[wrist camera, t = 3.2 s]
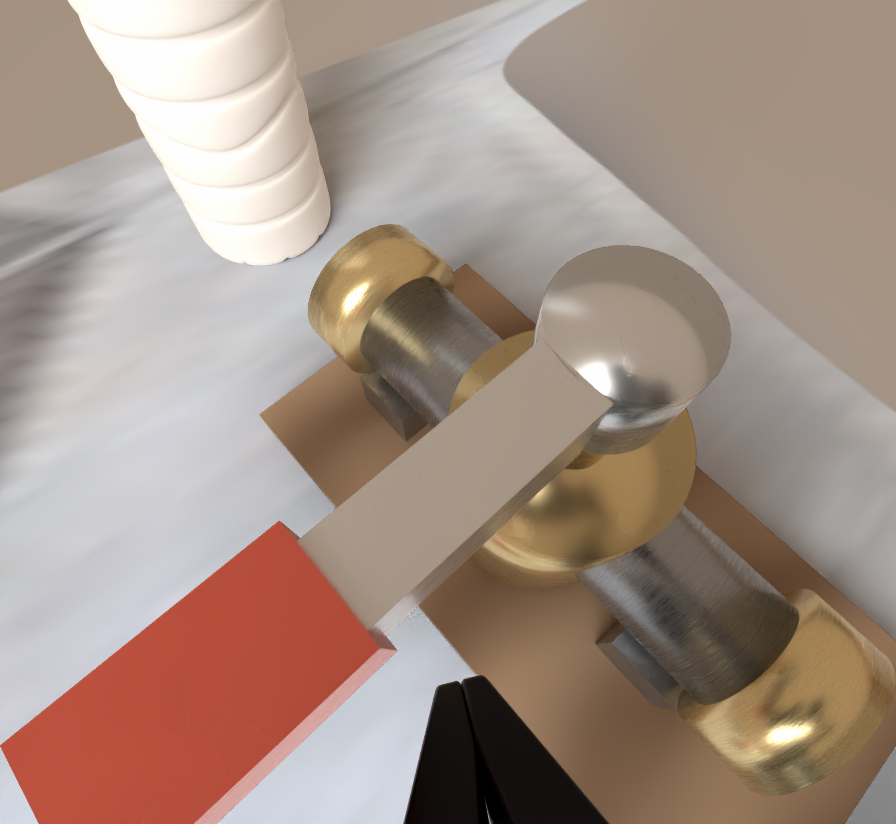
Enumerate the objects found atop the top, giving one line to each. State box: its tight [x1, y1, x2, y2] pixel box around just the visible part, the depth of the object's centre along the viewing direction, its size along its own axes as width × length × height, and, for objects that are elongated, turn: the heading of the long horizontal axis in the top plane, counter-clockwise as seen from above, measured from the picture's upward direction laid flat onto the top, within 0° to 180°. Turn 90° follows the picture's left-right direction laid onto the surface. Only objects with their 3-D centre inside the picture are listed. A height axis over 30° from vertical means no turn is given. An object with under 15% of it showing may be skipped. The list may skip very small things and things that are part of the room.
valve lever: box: [0, 245, 731, 824], centre depth 9 cm, size 12×3×3 cm, turn 132°
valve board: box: [259, 264, 896, 824], centre depth 20 cm, size 22×11×2 cm, turn 42°
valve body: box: [308, 224, 895, 796], centre depth 16 cm, size 18×6×9 cm, turn 42°
